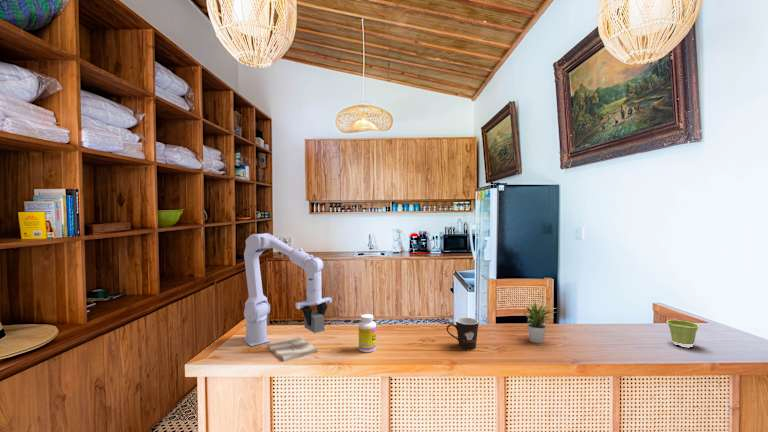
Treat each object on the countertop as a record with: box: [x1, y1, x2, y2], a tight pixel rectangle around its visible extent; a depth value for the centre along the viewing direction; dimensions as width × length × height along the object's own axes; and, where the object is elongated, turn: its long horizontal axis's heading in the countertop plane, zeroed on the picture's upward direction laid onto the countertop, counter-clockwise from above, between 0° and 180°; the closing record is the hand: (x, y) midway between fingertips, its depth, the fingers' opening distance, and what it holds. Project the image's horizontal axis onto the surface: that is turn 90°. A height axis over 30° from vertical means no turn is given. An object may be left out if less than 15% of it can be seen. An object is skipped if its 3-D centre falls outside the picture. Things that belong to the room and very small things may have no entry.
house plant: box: [521, 299, 558, 344], centre depth 136 cm, size 14×14×16 cm
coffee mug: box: [446, 317, 480, 351], centre depth 132 cm, size 12×9×10 cm
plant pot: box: [666, 319, 700, 344], centre depth 131 cm, size 9×9×9 cm
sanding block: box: [303, 310, 325, 335], centre depth 132 cm, size 9×4×6 cm, turn 38°
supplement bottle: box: [358, 313, 377, 353], centre depth 129 cm, size 7×7×13 cm
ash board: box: [267, 336, 318, 362], centre depth 130 cm, size 16×13×1 cm
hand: (314, 324), depth 132 cm, fingers closed on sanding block, 4 cm apart
